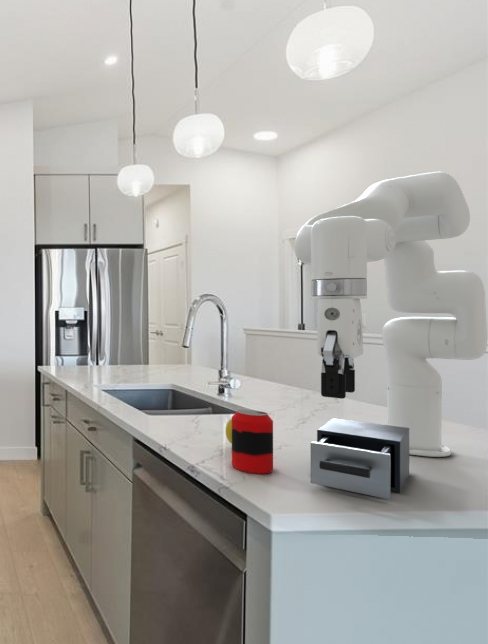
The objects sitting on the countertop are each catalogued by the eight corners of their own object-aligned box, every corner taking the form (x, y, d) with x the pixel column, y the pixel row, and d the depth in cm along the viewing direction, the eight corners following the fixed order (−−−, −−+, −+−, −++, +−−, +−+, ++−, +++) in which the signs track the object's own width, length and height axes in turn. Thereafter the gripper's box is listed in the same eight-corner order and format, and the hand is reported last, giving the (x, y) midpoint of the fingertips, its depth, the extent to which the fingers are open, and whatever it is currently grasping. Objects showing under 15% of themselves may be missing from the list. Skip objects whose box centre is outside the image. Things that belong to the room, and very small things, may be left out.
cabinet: (400, 493, 92) (400, 441, 92) (317, 476, 102) (317, 429, 102) (409, 474, 102) (409, 427, 102) (332, 460, 112) (332, 418, 111)
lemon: (255, 452, 118) (255, 418, 118) (230, 451, 120) (230, 418, 119) (246, 445, 124) (246, 413, 124) (222, 444, 125) (222, 413, 125)
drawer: (385, 506, 84) (385, 460, 84) (304, 488, 93) (304, 446, 93) (399, 480, 96) (399, 440, 96) (326, 466, 105) (326, 429, 105)
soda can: (280, 475, 103) (280, 417, 103) (240, 473, 104) (240, 416, 104) (263, 463, 110) (263, 409, 110) (226, 462, 111) (226, 408, 111)
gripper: (356, 289, 77) (356, 404, 77) (375, 290, 88) (375, 390, 89) (298, 290, 82) (298, 398, 82) (323, 291, 94) (323, 386, 94)
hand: (338, 393), depth 86 cm, fingers open, 7 cm apart
